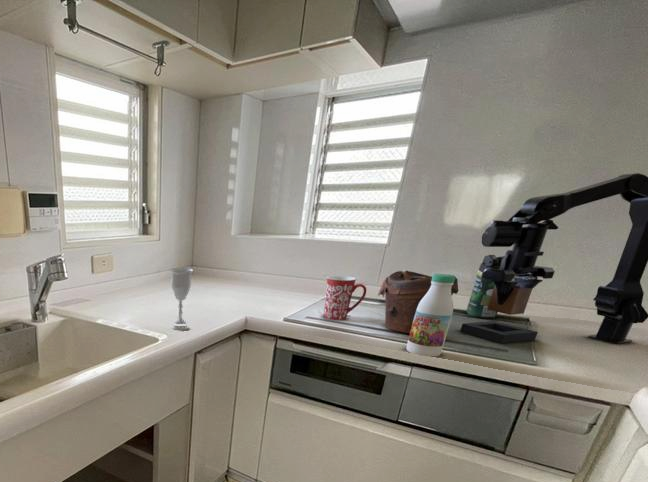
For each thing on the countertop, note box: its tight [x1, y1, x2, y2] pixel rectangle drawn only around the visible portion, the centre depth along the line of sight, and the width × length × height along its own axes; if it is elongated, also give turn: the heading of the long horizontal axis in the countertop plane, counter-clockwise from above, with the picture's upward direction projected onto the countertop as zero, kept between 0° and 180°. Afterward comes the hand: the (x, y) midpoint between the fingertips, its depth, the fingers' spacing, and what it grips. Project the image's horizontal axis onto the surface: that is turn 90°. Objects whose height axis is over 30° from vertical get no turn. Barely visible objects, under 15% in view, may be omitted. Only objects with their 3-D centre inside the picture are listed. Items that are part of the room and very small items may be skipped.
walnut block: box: [487, 285, 533, 316], centre depth 114 cm, size 5×6×8 cm
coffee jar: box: [466, 262, 499, 320], centre depth 136 cm, size 10×8×19 cm
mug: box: [323, 275, 367, 321], centre depth 135 cm, size 13×9×14 cm
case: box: [377, 269, 459, 335], centre depth 122 cm, size 18×20×18 cm
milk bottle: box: [406, 273, 456, 358], centre depth 101 cm, size 8×8×20 cm
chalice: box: [169, 267, 194, 331], centre depth 124 cm, size 7×7×18 cm
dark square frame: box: [459, 320, 539, 344], centre depth 118 cm, size 12×12×2 cm
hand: (507, 304), depth 115 cm, fingers closed on walnut block, 5 cm apart
